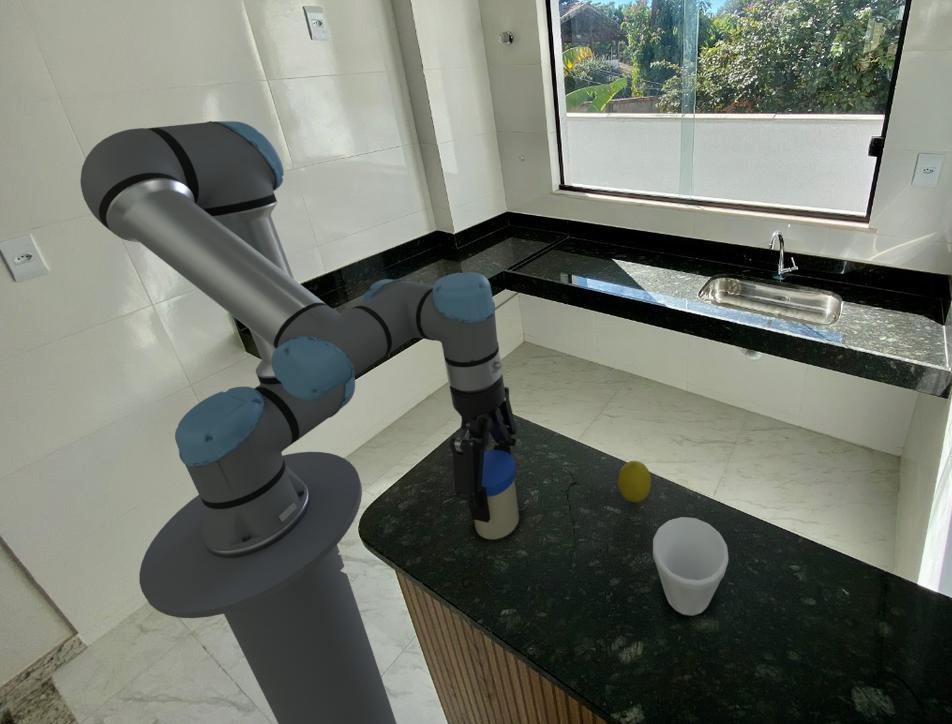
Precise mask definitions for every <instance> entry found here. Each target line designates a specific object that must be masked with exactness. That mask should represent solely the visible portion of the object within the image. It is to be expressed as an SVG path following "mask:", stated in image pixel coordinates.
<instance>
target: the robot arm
mask: <svg viewBox="0 0 952 724" xmlns="http://www.w3.org/2000/svg"><path fill="white" fill-rule="evenodd" d="M284 175H285V172H284V167H283V162H282V160H281V158H280V156H279V154H278V152H277V150H276V148H275V147H274V145H273V144H272V143H271V142H270V140H269V139H268V138H267V136H265V135H264V133H261V132H260V131H258V130H257V128H255V127H254V126H252V125H249V124H248V123H246V122H241V121H236V120H233V121H232V120H231V121H230V120H228V121H226V120H225V121H221V120H219V121H218V120H216V121H215V120H214V121H212V120H209V121H206V122H196V123H186V124H176V125H175V124H174V125H167V126H165V125H164V126H156V127H139V128H130V129H125V130H122V131H119V132H115V133H112V134H111V135H108V136H107V137H105V138H103V139H102V140H100V141H99V142H98V143H97V144H96V145H95V146H93V148H91V150H90V151H89V153H88V154H87V156H86V158H85V160H84V162H83V164H82V167H81V172H80V179H79V180H80V181H79V182H80V189H81V193H82V197H83V200H84V201H85V204H86V205H87V207H88V209H89V211H90V213H91V214H92V215H93V216H94V217H95V218H96V220H97V221H98V222H99V223H101V224H102V226H104V227H105V228H106V229H107V230H109V231H110V232H111V233H112V234H113V235H115V236H116V237H118V238H119V239H121V240H124V241H128V242H131V243H132V242H133V243H139V244H142V245H143V246H144V247H145V248H147V249H148V250H149V252H151V253H153V254H154V255H155V256H157V257H158V259H160V260H162V262H164V263H165V264H167V265H168V266H169V267H170V268H172V269H173V270H175V271H176V273H178V274H179V275H181V276H182V277H183V278H184V279H185V280H187V281H188V282H189V283H191V284H192V285H193V286H195V288H197V290H198V289H199V290H200V291H201V292H202V293H203V294H205V295H206V296H207V297H208V298H210V299H211V300H213V302H215V303H216V304H217V305H218V306H220V307H221V308H222V309H224V310H225V311H226V312H227V313H228V314H230V315H231V316H232V317H234V318H235V319H236V320H237V321H239V322H240V323H242V324H243V326H245V327H246V328H247V329H249V332H250V334H251V336H252V339H253V341H254V343H255V346H256V348H257V351H258V354H259V356H260V359H261V360H260V361H259V363H258V365H257V366H256V368H255V375H256V376H257V379H258V381H259V385H257V386H255V387H252V386H236V387H235V386H234V387H232V388H228V389H227V390H226V391H219V392H216V393H214V394H211V395H210V396H208V397H206V398H205V399H203V400H201V401H200V402H198V403H197V404H195V405H194V406H193V407H192V408H191V409H189V410H188V411H187V412H186V413H185V414H184V415H183V417H182V418H181V419H180V421H179V423H178V424H177V427H176V429H175V431H174V440H175V443H176V445H177V448H178V455H179V459H180V461H181V462H182V463H183V464H184V465H185V467H186V470H187V472H188V474H189V476H190V477H191V480H192V483H193V485H194V487H195V490H196V491H197V493H198V495H199V496H200V497H201V500H202V502H203V504H204V506H203V524H202V538H203V541H204V544H205V546H206V548H207V550H208V551H209V552H210V553H211V554H213V555H215V556H217V557H221V558H236V557H241V556H246V555H249V554H252V553H255V552H257V551H260V550H262V549H264V548H266V547H268V546H270V545H272V544H274V543H275V542H277V541H278V540H280V539H281V538H283V537H284V536H285V535H287V534H288V533H289V532H290V531H291V530H292V529H293V528H295V526H296V525H297V524H298V523H299V522H300V521H301V520H302V518H303V517H304V515H305V514H306V512H307V510H308V507H309V504H310V495H309V492H308V489H307V486H306V485H305V483H304V482H303V481H302V480H301V479H300V478H299V477H298V476H297V475H296V474H295V473H294V472H293V471H291V470H290V469H289V468H288V467H287V466H286V465H285V462H284V459H283V454H282V453H283V451H285V450H286V449H287V448H288V447H290V446H291V445H293V444H294V443H296V442H297V441H299V440H300V439H301V438H303V437H304V436H305V435H307V434H309V433H310V432H311V431H313V430H314V429H316V428H317V427H319V426H320V425H321V424H322V423H323V422H325V421H327V420H328V419H329V418H332V417H334V416H336V414H338V412H339V411H341V409H342V408H344V407H345V406H346V405H348V404H349V402H351V400H352V398H353V396H354V394H355V390H356V379H355V377H356V376H357V375H359V374H360V373H362V372H363V371H365V370H366V369H368V368H369V367H370V366H372V365H373V364H375V363H376V362H377V361H379V360H381V359H383V358H385V357H386V356H387V355H389V354H390V353H392V352H393V351H395V350H397V349H398V348H400V347H401V346H403V345H404V344H406V343H407V342H409V341H410V340H412V339H414V338H419V339H424V340H428V341H429V340H430V341H436V342H440V343H441V347H442V352H443V358H444V363H445V371H446V376H447V382H448V384H449V391H450V396H451V402H452V406H453V409H454V410H455V411H456V412H457V413H458V415H459V416H460V417H461V423H460V428H461V432H459V435H458V436H457V437H455V436H452V437H450V440H449V447H450V450H451V452H452V463H453V464H452V465H453V478H454V491H455V492H454V493H455V494H454V495H455V498H456V499H461V500H465V501H467V505H468V508H469V509H470V514H471V520H473V521H474V520H478V521H482V522H487V523H488V522H489V520H490V513H489V507H488V501H487V494H486V488H485V487H484V486H482V476H483V463H484V452H485V451H486V447H487V446H488V445H489V439H490V437H489V436H491V437H492V439H493V440H494V442H495V444H494V446H493V449H492V450H501V451H505V452H507V453H508V454H510V455H511V456H512V448H511V447H516V444H517V438H513V437H512V436H515V435H516V433H517V426H516V421H515V417H514V413H513V410H512V405H511V400H510V388H509V387H508V386H505V383H504V376H503V374H502V373H503V370H502V367H503V362H501V355H500V346H499V342H498V334H497V333H498V332H497V322H496V321H497V319H496V304H495V301H494V298H493V291H492V287H491V284H490V281H489V280H488V278H486V277H485V275H483V274H480V273H476V272H469V271H468V272H456V273H451V274H447V275H444V276H442V277H440V278H439V279H437V280H436V281H434V284H433V285H432V284H427V283H421V282H416V281H411V280H406V279H388V278H387V279H381V280H378V281H376V282H374V283H373V284H371V285H370V287H369V289H368V290H367V291H366V292H365V293H364V294H363V297H362V300H361V303H360V304H358V305H355V306H353V307H351V308H350V309H347V310H346V311H344V312H341V313H339V312H338V311H336V310H335V309H334V308H332V307H331V306H329V305H328V304H327V303H325V302H324V301H323V300H321V298H319V297H318V296H316V295H315V294H314V293H313V292H311V291H309V289H307V288H306V287H304V286H303V285H302V284H301V283H299V282H298V281H297V280H295V278H294V275H293V272H292V270H291V267H290V264H289V261H288V259H287V255H286V254H285V251H284V247H283V245H282V242H281V239H280V236H279V234H278V231H277V228H276V226H275V222H274V220H273V217H272V212H273V210H274V209H275V208H276V206H277V205H278V200H277V198H276V195H275V191H277V190H278V189H279V188H280V187H281V186H282V184H283V183H284V178H283V177H284Z"/></svg>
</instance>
